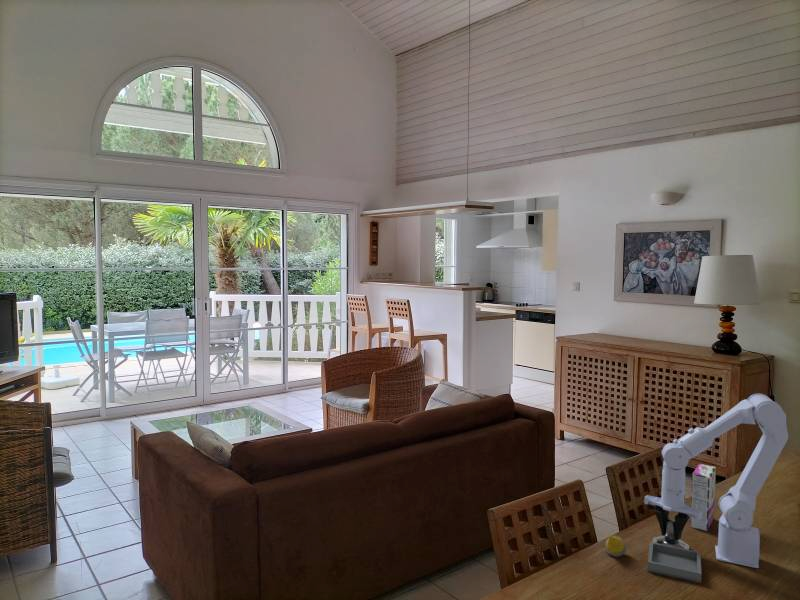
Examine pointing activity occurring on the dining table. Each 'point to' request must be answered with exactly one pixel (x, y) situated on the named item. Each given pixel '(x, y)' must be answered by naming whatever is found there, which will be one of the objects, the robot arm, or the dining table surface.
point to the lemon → (615, 546)
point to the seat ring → (681, 543)
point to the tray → (674, 562)
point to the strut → (670, 533)
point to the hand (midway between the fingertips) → (671, 536)
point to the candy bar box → (703, 495)
